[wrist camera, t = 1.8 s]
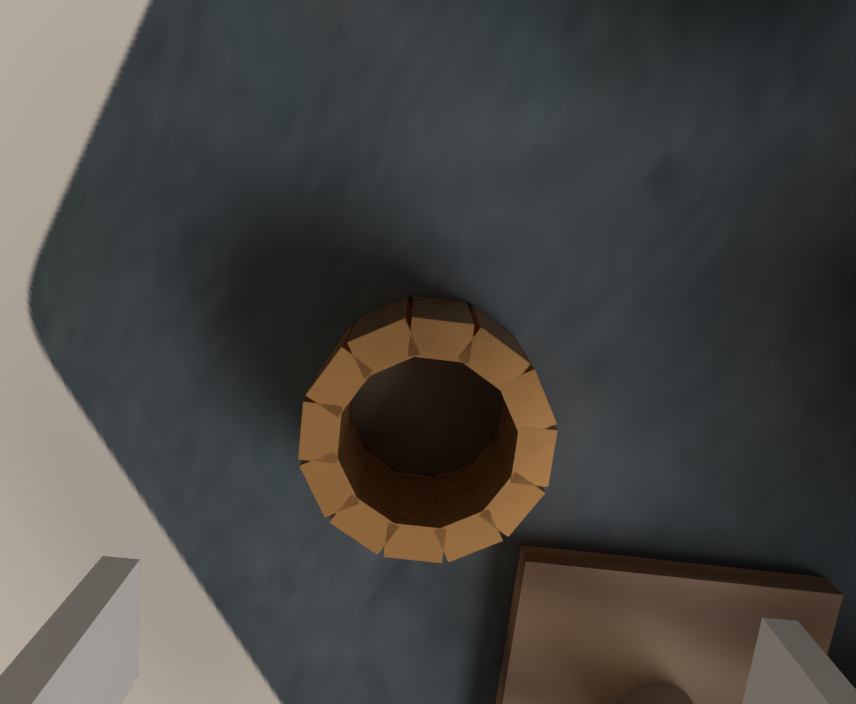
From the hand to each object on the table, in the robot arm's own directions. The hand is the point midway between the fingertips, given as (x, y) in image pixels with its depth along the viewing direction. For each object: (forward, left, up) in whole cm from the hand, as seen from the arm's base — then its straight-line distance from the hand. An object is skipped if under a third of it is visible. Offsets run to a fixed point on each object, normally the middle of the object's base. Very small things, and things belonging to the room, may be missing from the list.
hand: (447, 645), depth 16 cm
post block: (+13, +12, -17) cm, 24 cm away
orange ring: (0, 0, -17) cm, 17 cm away
